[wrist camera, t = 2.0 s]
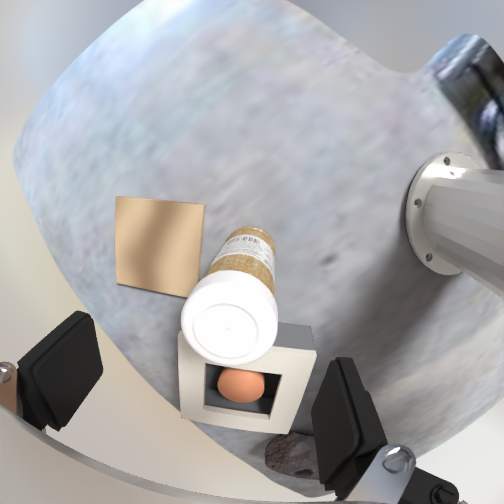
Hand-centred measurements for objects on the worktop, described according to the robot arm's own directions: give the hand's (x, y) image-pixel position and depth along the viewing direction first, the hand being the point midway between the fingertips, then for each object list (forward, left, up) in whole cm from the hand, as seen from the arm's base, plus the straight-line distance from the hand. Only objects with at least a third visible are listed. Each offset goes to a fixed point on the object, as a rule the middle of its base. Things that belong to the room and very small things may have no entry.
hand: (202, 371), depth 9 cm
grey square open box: (-1, +13, -16) cm, 21 cm away
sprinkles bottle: (0, 0, -16) cm, 16 cm away
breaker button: (-1, +13, -14) cm, 19 cm away
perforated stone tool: (-13, +28, -17) cm, 35 cm away
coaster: (+9, +1, -16) cm, 18 cm away
